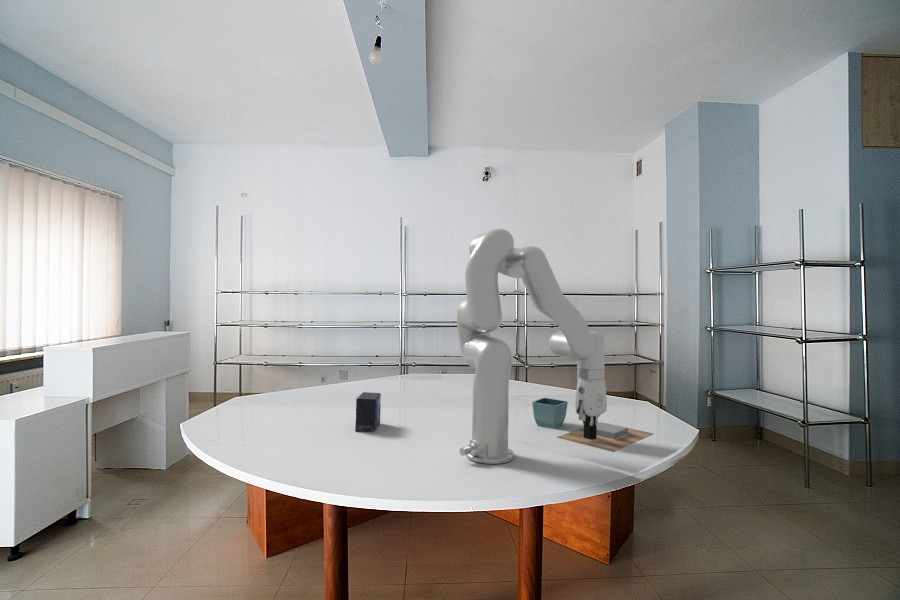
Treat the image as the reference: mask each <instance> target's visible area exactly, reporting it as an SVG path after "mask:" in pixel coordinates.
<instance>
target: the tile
mask: <svg viewBox="0 0 900 600" xmlns="http://www.w3.org/2000/svg"><path fill="white" fill-rule="evenodd" d="M628 428H629V427H626V426H623V425H622V426H621V425H617V424H616V425H615V424H612V423H609V422H608V423H607V422H601V424H598V425H597V436H598V437H602V438H607V439H611V440H616V439H618V438H621V437H623V436H625V435H628Z"/></svg>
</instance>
